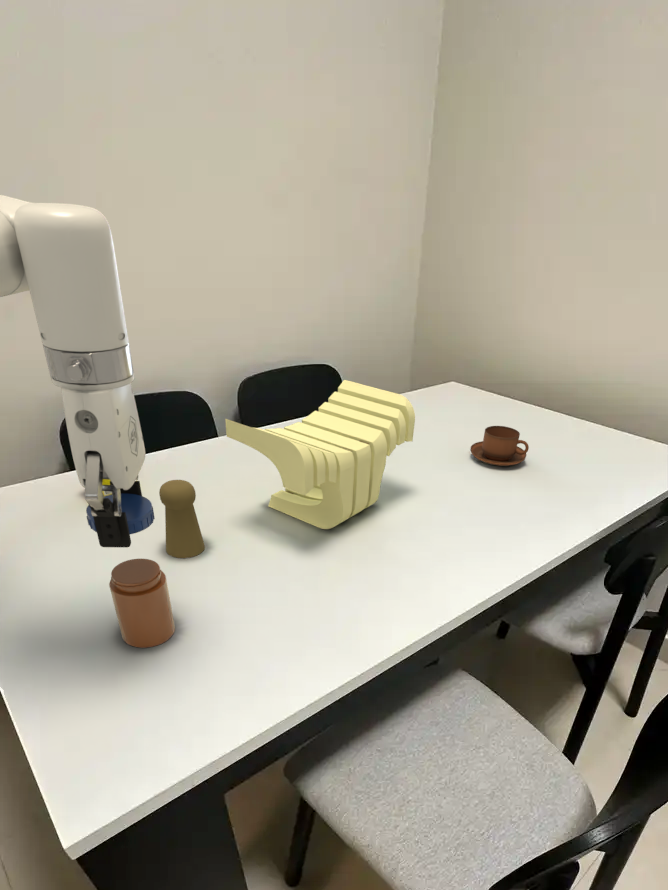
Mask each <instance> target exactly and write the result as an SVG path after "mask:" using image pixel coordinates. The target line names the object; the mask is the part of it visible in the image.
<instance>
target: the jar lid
mask: <svg viewBox="0 0 668 890" xmlns="http://www.w3.org/2000/svg"><path fill="white" fill-rule="evenodd" d="M104 498H108V499H109V500H110V501H111V502H112V503H113V496H112V495H108V496H104ZM89 506H90V505H89V504H88V505H87V506H86V511H85V513H86V521H87V525H88V526H89V527H90V530H92V531H93V532H95V533H97V531H96V526H95V522H94V518H93V516H92V513H91V508H90V507H89ZM121 508H122V512H126V518H127V523H128V528H129V533H130V535H134V534H137V533H140V532H143V531H145V530H146V529H148V528H149V527H150V526H151V525H153V524H154V520H155V511H154V506H153V504H152V501H151V500H150V499H149V498H147V497H145V496H143V495H142V496H140V495H136V494H121Z"/></svg>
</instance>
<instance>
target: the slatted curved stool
mask: <svg viewBox="0 0 668 890" xmlns="http://www.w3.org/2000/svg"><path fill="white" fill-rule="evenodd" d="M327 400H328V401H324V402H323V403H322V404H321V405H320V406H318V410H314V411H312V412H311V413H310V414H308V415H307V416H306V417H304V418H302V419H301V422H300V421H297V422H294V423H292V424H290V425H286V426H283V428H281V427H276V428H264V429H263V428H260V427H253V426H248V425H245V424H242V423H240V422H236V421H234V420H231V419H228V418H224V421H225V433H226V437H227V438H228V439H232V440H235V441H236V442H239V443H241V444H244V445H246V446H248V447H249V448H252V449H253V450H256V451H257V452H258V453H260V454H262V455H263V456H264V457H265V458H267V460H269V461H270V462H271V463H272V464H273V465H274V466H275V468H276V470H277V471H278V473H279V476H280V479H281V483H282V487H283V488H284V490H283V489H281V490H278V491H277V492H275V493H273V494H271V495H270V500H269V502H268V505H267V507H268V508H271V509H274V510H275V511H278V512H280V513H283V514H286V515H287V516H290V517H292V518H295V519H297V520H300V521H302V522H304V523H306V524H309V525H311V526H314V527H316V528H318V529H322V530H330V529H333V528H334V527H337V526H338V525H340V524H341V523H343V522H345V521H346V520H348V519H350V518H352V517H353V516H355V515H357V514H359V513H360V512H362V511H363V510H365V509H367V508H369V507H370V506H372V505H375V504H376V503H377V501H378V500H379V497H380V491H381V485H382V480H383V475H384V472H385V469H386V464H387V457H390V456H391V455H392V453H393V452H394V450H396V448H397V446H400V445H402V444H404V443H405V442H406V443H409V442H410V443H411V442H413V441H414V431H415V425H416V414H415V413H416V412H415V409H414V406H413V404H412V402H411V401H410V400H409V399H408V398H407V397H406V396H404V395H403V394H400V393H397V392H392V391H389V390H384V389H381V388H376V387H374V386H370V385H366V384H362V383H359V382H356V381H355V382H354V381H351V380H347V379H344V380H343V381H342V382H341V383H340V384H339V386H338V387H337V391H333V392H332V393H331V395H330V396H329V397H328V399H327Z"/></svg>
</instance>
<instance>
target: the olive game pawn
mask: <svg viewBox="0 0 668 890" xmlns="http://www.w3.org/2000/svg"><path fill="white" fill-rule="evenodd" d="M158 492H159V500H160V502H161V503H162V504H163V506H164V515H165V516H164V519H165V520H164V521H165V552H166V554H167V555H169V556H170V557H173V558H177V559H188V558H189V559H190V558H193V557H197V556H199V555H200V554H202V553H203V552H204V550H205V549H206V545H205V542H204V538H203V534H202V531H201V527H200V524H199V520H198V517H197V513H196V510H195V505H194V504H195V501H196V499H197V498H196V496H197V494H196V490H195V487H194V486H193V484H192V483H191V482H189V481H187V480H184V479H171V480H168V481H166V482H164V483H163V484H161V486H160V488H159V491H158Z"/></svg>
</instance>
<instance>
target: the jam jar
mask: <svg viewBox="0 0 668 890" xmlns="http://www.w3.org/2000/svg"><path fill="white" fill-rule="evenodd" d="M108 587H109V589H110V594H111V598H112V602H113V607H114V609H115V614H116V619H117V622H118V626H119V630H120V633H121V637H122V640H123V641H124V643H126V644H127V645H129V646H131V647H134V648H140V649H141V648H142V649H143V648H144V649H145V648H153V647H157V646H159V645H162V644H164V643H166V642H167V641H169V640H170V639H171V638H172V637H173V635H174V634H175V631H176V626H175V620H174V615H173V609H172V608H173V607H172V603H171V597H170V591H169V586H168V581H167V575H166V573H165V572H164V571H163V570H162V569H161V567H160V564H158V562H156V561H155V560H152V559H149V558H132V559H127V560H124V561H122V562H119V563H118V564H117V565H115V566H114V567H113V569H112V570H111V573H110V580H109V583H108Z"/></svg>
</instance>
